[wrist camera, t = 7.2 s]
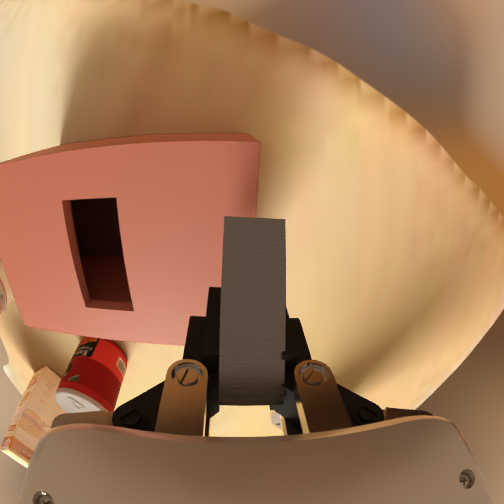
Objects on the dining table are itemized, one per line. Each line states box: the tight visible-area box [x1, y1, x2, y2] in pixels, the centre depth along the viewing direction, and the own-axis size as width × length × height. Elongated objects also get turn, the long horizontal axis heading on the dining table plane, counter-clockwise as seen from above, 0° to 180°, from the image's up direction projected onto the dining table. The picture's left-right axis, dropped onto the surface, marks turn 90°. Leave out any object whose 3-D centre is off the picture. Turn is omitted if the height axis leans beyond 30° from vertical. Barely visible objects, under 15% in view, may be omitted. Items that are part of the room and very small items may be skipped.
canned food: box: [55, 337, 127, 413], centre depth 31 cm, size 8×8×11 cm
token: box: [219, 216, 286, 406], centre depth 11 cm, size 6×2×6 cm
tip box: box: [0, 133, 260, 346], centre depth 22 cm, size 14×20×12 cm
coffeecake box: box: [0, 365, 66, 468], centre depth 32 cm, size 15×7×20 cm, turn 32°
